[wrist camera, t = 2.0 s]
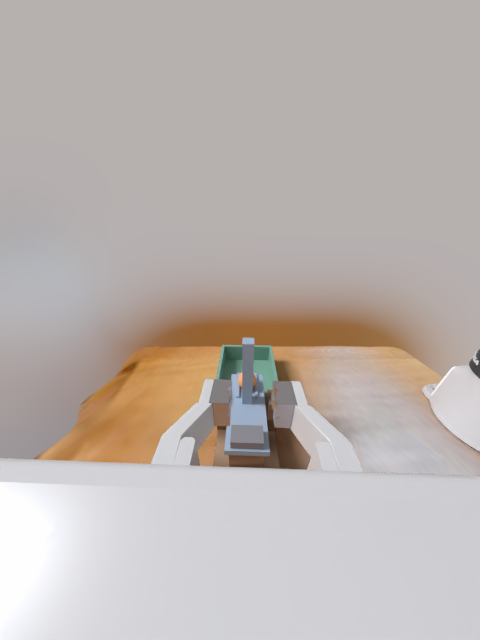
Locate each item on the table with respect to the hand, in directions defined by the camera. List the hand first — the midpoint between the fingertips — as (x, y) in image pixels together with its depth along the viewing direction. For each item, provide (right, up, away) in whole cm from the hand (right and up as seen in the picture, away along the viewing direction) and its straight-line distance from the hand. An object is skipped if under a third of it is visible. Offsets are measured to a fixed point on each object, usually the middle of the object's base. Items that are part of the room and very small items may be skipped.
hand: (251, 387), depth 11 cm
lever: (0, -11, +21) cm, 24 cm away
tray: (+1, -10, +35) cm, 36 cm away
